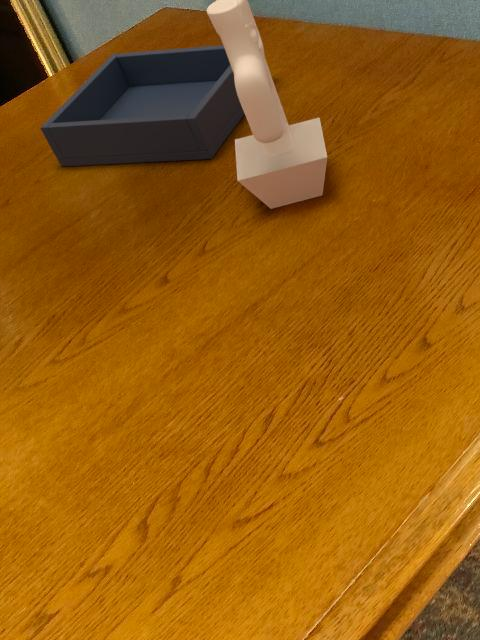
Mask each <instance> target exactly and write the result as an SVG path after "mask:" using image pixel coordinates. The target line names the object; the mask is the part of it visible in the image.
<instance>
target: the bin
mask: <svg viewBox="0 0 480 640" xmlns="http://www.w3.org/2000/svg"><path fill="white" fill-rule="evenodd" d="M244 116H245V113H244V111H243V108H242V106H241V103H240V101H239V98H238V95H237V92H236V88H235V81H234V73H233V70H232V67H231V65H230V62H229V59H228V56H227V54H226V51H225V48H224V46H223V44H222V45H209V46H208V45H207V46H197V47H184V48H171V49H158V50H146V51H134V52H133V51H132V52H121V53H111V54H110V56H109V57H108V58H106V60H105V61H104V62H103V63H102V64H101V65H100V66H99V67H98V68H97V69H96V70H95V71H94V72H93V73H92V74H91V75H90V76H89V77H88V78H87V79H85V81H84V83H82V84H81V85H80V86H79V87H78V89H77V90H75V92H74V93H72V94H71V96H69V97H68V98H67V100H66V101H65V102H64V103H63V104H62V105H61V106H60V107H59V108H58V109H57V110H56V111H55V112H54V113H53V114H52V115H51V116H50V117H49V118H47V120H46V121H45V122H44V123H43V124H42V125H41V126H40V127H39V128H40V130H41V132H42V134H43V136H44V138H45V139H46V141H47V143H48V145H49V147H50V149H51V150H52V152H53V154H54V156H55V158H56V159H57V161H58V163H59V165H60V167H79V166H99V165H100V166H101V165H117V164H139V163H140V164H141V163H155V162H156V163H159V162H176V161H178V162H179V161H196V160H197V161H198V160H212V159H213V157H214V156H215V155H216V154H217V152H218V151H219V150H220V148H221V147H222V145H223V144H224V143H225V142H226V140H227V138H228V137H229V136H230V135H231V133H232V132H233V131H234V129H235V128H236V126H237V125H238V124H239V122H240V121H241V119H243V117H244Z"/></svg>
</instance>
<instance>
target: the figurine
mask: <svg viewBox="0 0 480 640" xmlns="http://www.w3.org/2000/svg"><path fill="white" fill-rule="evenodd" d="M206 14H207V16H208V18H209V20H210V22H211V24H212V26H213V29H215V30H214V31H215V32H216V34H217V35H218V36H219V38H220V41H221V44H222V45H223V46H224V48H225V51H226V54H227V56H228V59H229V62H230V65H231V67H232V70H233V73H234V81H235V88H236V92H237V95H238V98H239V101H240V103H241V106H242V108H243V111H244V113H245V114H244V116H245V118H246V120H247V123H248V126H249V129H250V131H251V135H247V136H243V137H240V138H239V137H238V138H235V139H234V150H235V165H236V181H237V182H238V183H239V184H241V186H243V188H245V189H246V190H247V191H249V192H250V193H251V194H252V195H254V196H255V197H256V198H257V199H259V201H261V202H262V203H263V204H264V205H265V206H267V207H268V208H269V209H270V210H272V209H276V208H280V207H284V206H287V205H291V204H295V203H298V202H304V201H307V200H310V199H314V198H318V197H321V196H323V195H324V194H323V192H324V187H325V186H324V185H325V179H326V170H327V163H328V154H327V150H326V149H327V148H326V143H325V138H324V133H323V129H322V124H321V117H316V118H315V117H314V118H311V119H308V120H304V121H300V122H296V123H293V124H289V122H288V119H287V117H286V114H285V113H286V112H285V111H284V108H283V105H282V101H281V99H280V97H279V94H278V92H277V88H276V85H275V81H274V80H273V77H272V74H271V71H270V68H269V65H268V62H267V59H266V56H265V47H264V43H263V40H262V37H261V34H260V31H259V28H258V26H257V23H256V21H255V18H254V15H253V12H252V9H251V6H250V4H249V1H248V0H215V1H213V2H212V3H210V5H209V6H208V7H207V8H206Z"/></svg>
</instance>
